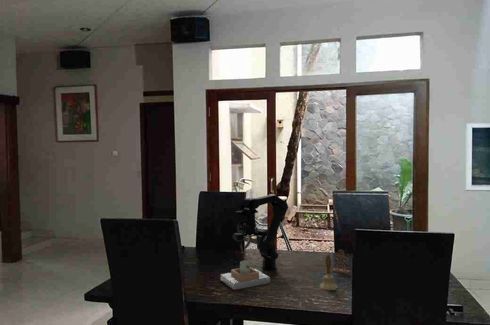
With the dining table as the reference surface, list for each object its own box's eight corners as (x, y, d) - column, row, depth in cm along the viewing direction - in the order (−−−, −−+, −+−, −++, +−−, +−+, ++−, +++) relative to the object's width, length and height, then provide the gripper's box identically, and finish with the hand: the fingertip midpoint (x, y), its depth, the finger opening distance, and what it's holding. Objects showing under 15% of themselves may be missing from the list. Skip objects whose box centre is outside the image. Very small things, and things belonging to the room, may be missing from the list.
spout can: (247, 273, 209) (247, 260, 209) (253, 277, 203) (253, 263, 203) (238, 275, 207) (238, 261, 207) (244, 278, 201) (244, 264, 201)
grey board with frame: (254, 274, 218) (254, 264, 218) (269, 283, 204) (269, 272, 203) (220, 280, 209) (220, 269, 209) (233, 289, 195) (233, 278, 194)
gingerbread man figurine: (350, 272, 220) (350, 250, 219) (348, 274, 216) (348, 251, 216) (334, 269, 224) (334, 248, 224) (331, 271, 221) (331, 249, 220)
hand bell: (327, 291, 191) (327, 258, 190) (316, 286, 198) (316, 254, 198) (341, 288, 195) (341, 255, 194) (330, 283, 202) (329, 251, 201)
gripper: (257, 217, 228) (258, 245, 228) (227, 221, 219) (228, 249, 220) (267, 221, 218) (268, 249, 219) (236, 224, 209) (237, 254, 210)
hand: (250, 250), depth 217 cm, fingers open, 9 cm apart
